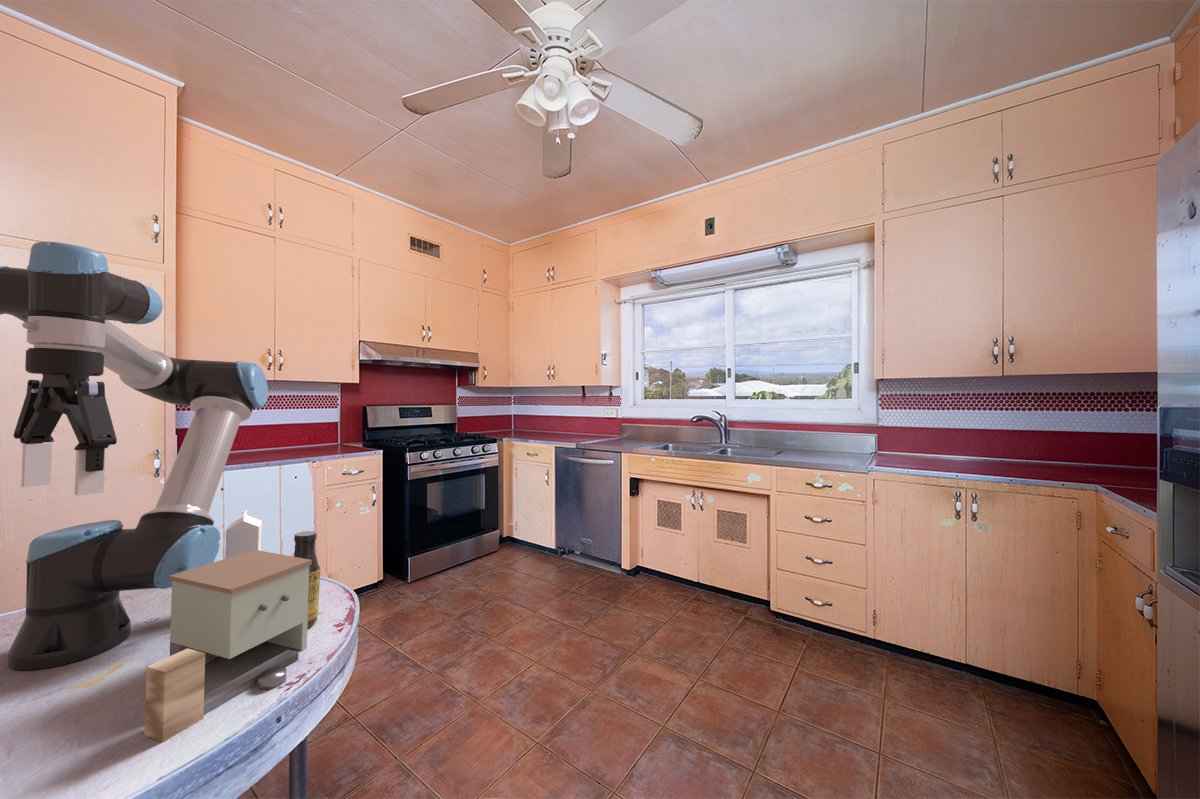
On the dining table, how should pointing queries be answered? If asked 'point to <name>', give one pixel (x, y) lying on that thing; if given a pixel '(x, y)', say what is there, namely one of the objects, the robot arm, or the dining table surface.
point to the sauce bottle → (307, 551)
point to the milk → (243, 536)
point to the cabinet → (240, 604)
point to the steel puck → (271, 678)
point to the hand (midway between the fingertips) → (62, 489)
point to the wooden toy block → (191, 691)
